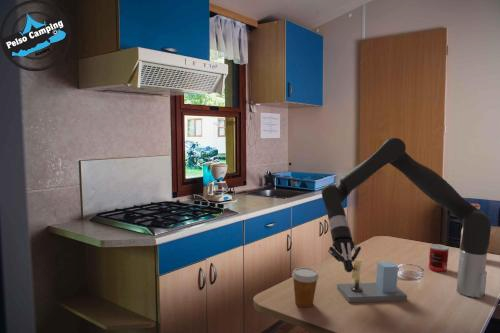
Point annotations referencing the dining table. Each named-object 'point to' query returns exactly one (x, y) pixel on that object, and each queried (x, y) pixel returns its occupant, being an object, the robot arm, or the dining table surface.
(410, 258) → the dining table surface
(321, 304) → the dining table surface
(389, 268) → the light blue block
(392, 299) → the plate
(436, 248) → the canned food
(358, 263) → the golden lever handle
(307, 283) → the disposable coffee cup
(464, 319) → the dining table surface
